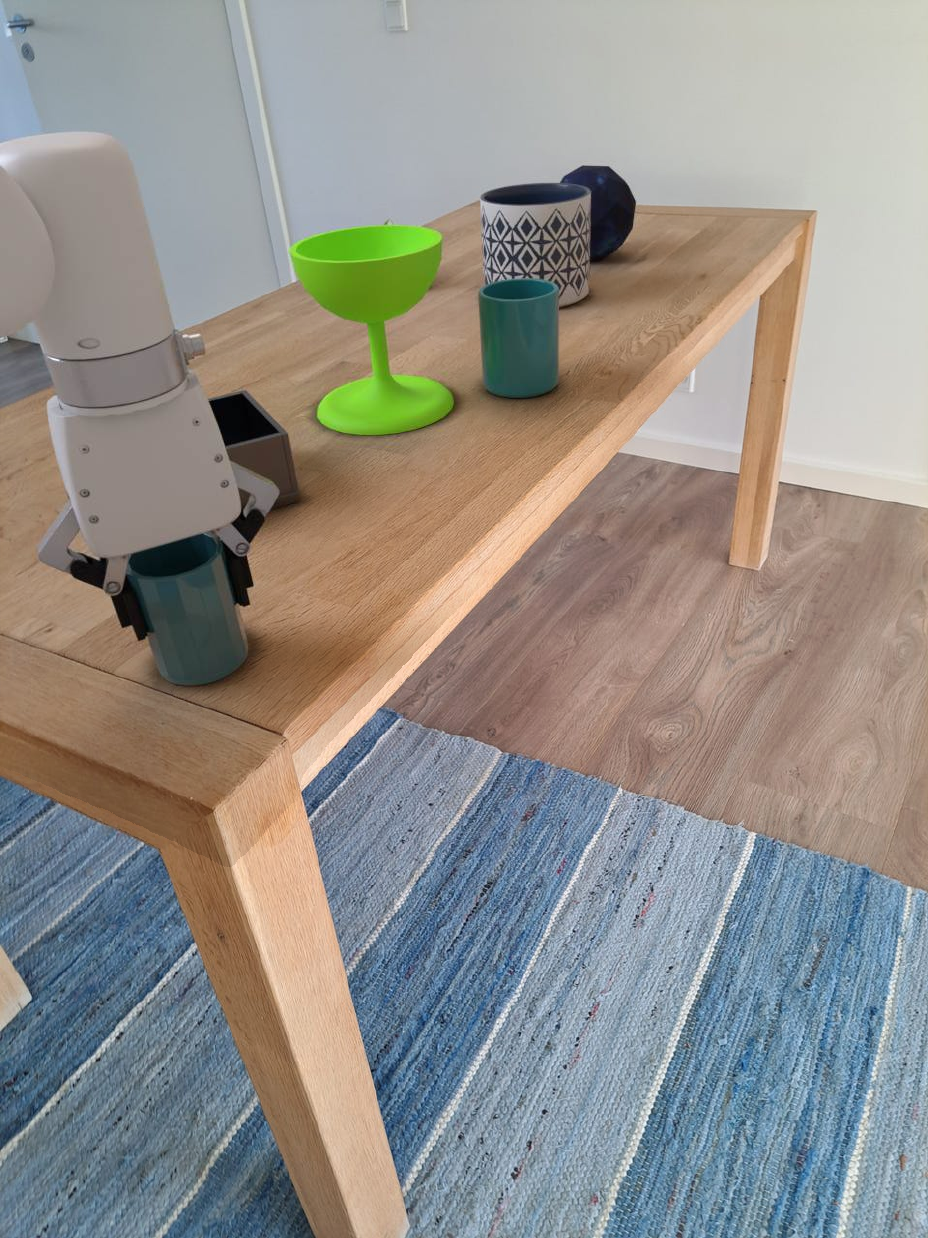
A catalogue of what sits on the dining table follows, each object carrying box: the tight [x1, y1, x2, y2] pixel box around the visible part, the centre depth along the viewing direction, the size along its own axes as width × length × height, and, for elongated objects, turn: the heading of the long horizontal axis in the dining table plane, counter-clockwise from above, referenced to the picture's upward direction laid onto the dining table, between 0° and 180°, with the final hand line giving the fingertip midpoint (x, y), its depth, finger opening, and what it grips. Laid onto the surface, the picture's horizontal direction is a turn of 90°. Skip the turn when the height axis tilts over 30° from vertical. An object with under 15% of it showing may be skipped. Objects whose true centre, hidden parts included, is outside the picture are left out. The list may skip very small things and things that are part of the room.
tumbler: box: [126, 531, 249, 687], centre depth 63 cm, size 7×7×9 cm
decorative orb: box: [559, 164, 637, 262], centre depth 147 cm, size 14×15×15 cm
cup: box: [477, 278, 560, 399], centre depth 103 cm, size 9×12×11 cm
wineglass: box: [289, 224, 455, 436], centre depth 98 cm, size 16×16×18 cm
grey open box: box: [207, 389, 301, 510], centre depth 85 cm, size 15×13×7 cm
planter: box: [479, 182, 591, 308], centre depth 131 cm, size 16×16×14 cm
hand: (190, 611), depth 63 cm, fingers closed on tumbler, 6 cm apart
